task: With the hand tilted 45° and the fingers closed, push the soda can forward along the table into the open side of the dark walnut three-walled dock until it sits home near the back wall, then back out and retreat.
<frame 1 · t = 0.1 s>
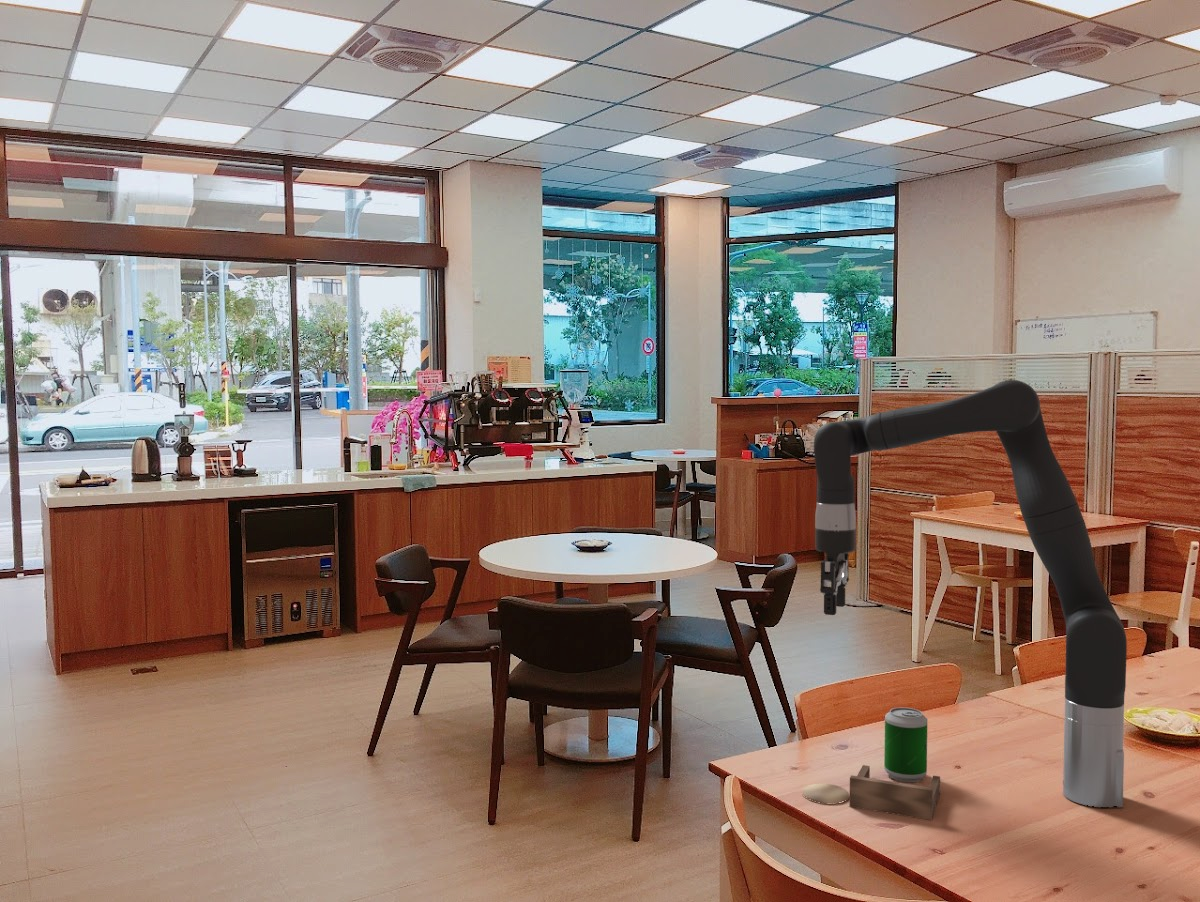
hand: (834, 610, 190), 29 cm above the table, tool pointing down, fingers open, 8 cm apart
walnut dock: (895, 799, 172), on the table
soda can: (905, 777, 183), on the table
beige domed disc: (825, 795, 174), on the table
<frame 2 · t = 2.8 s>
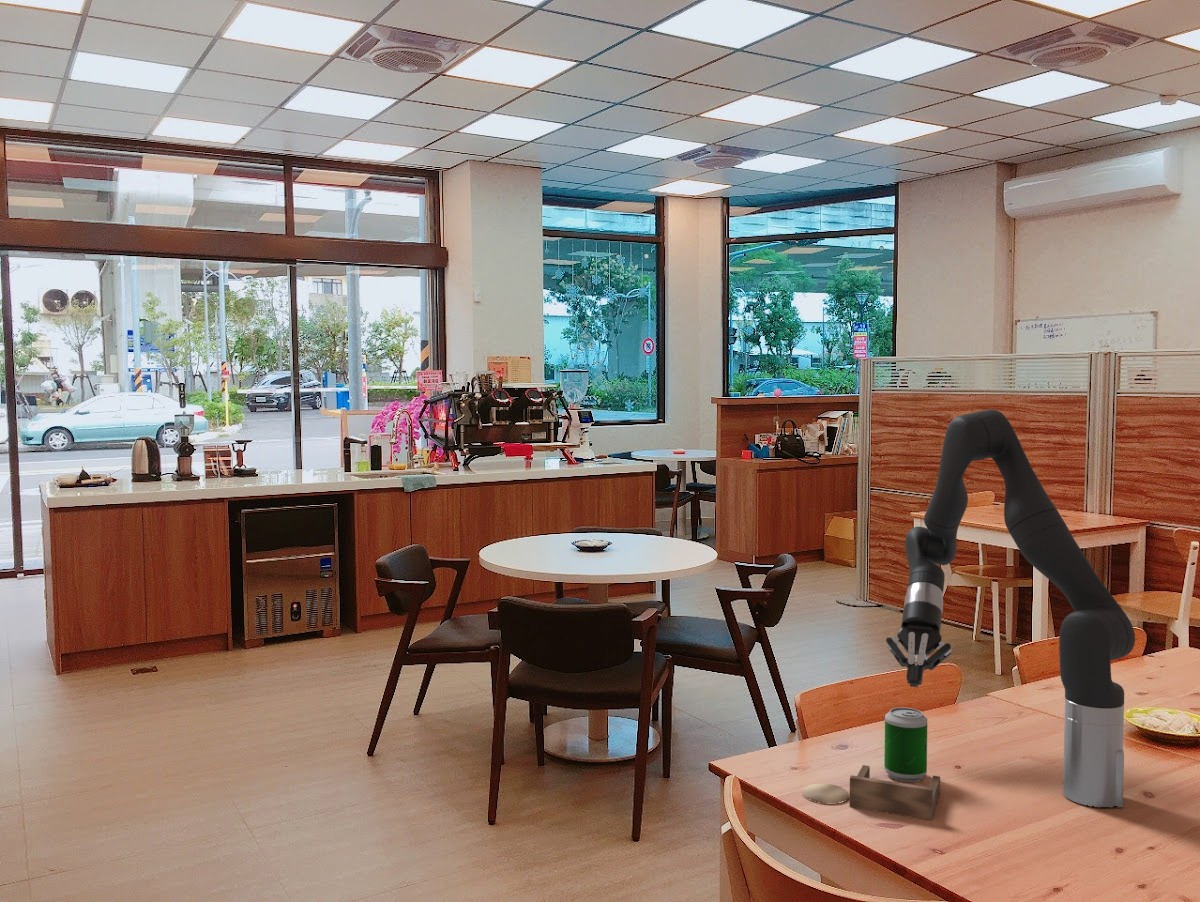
hand: (913, 684, 192), 14 cm above the table, tool tilted 45°, fingers closed
nothing on the table moved.
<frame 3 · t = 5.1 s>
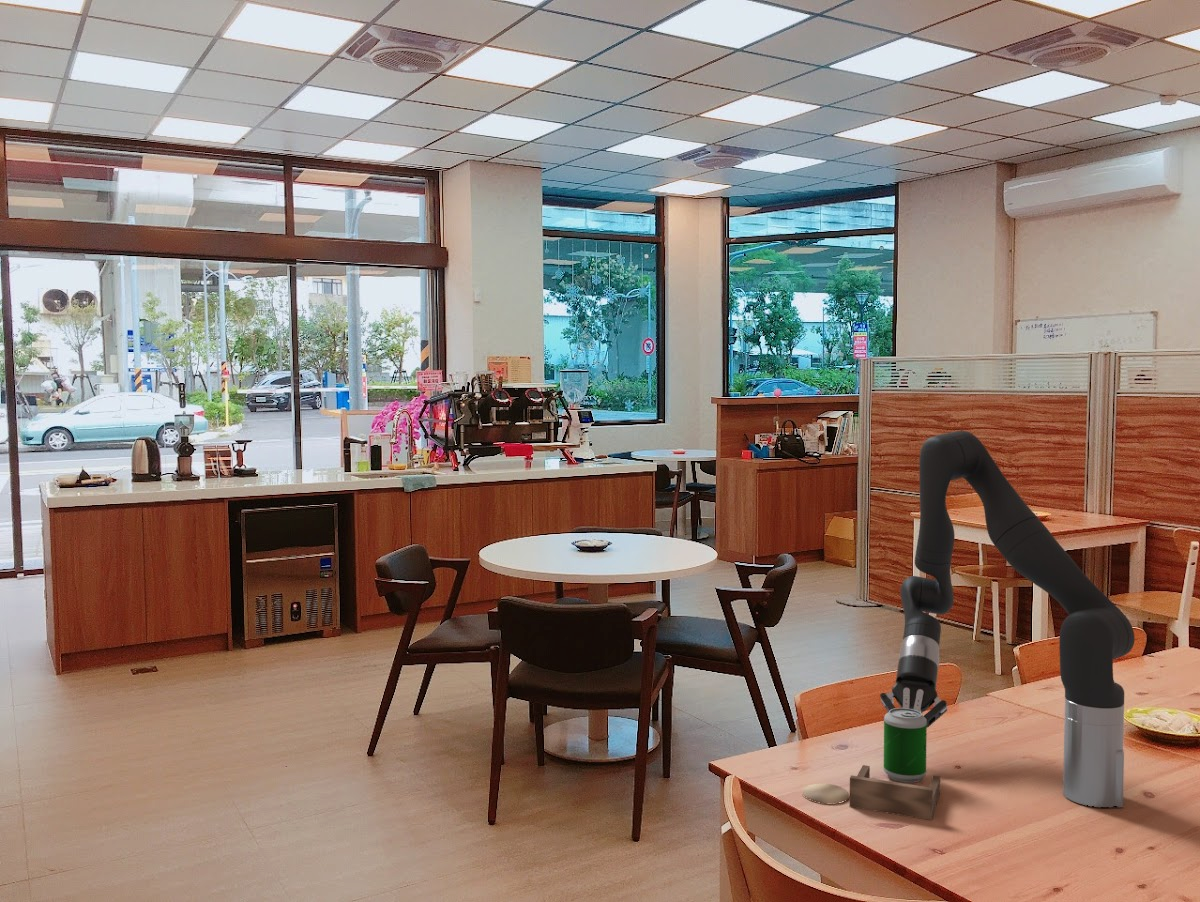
hand: (908, 744, 186), 5 cm above the table, tool tilted 45°, fingers closed
soda can: (904, 778, 183), on the table, touching gripper
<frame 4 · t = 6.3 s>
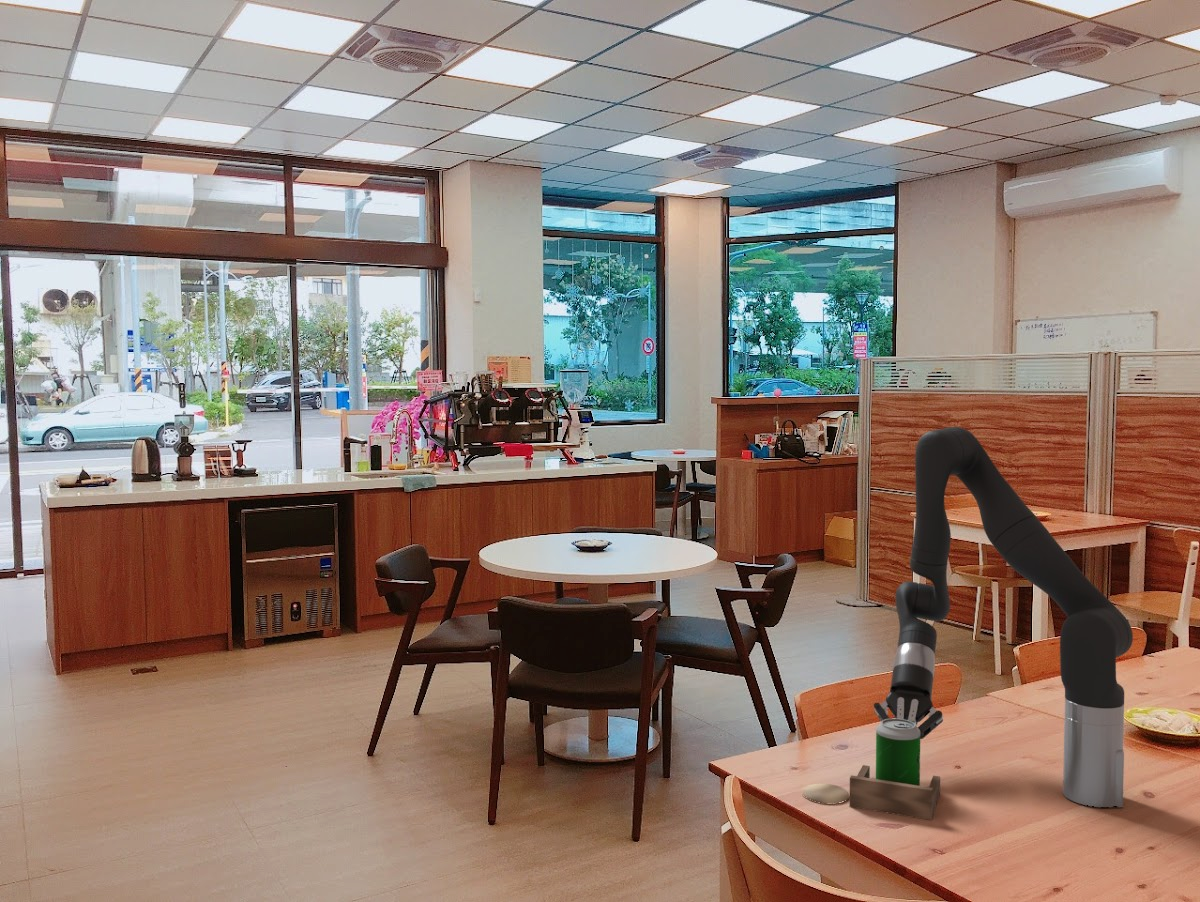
hand: (902, 755, 180), 5 cm above the table, tool tilted 45°, fingers closed
soda can: (897, 791, 177), on the table, touching gripper
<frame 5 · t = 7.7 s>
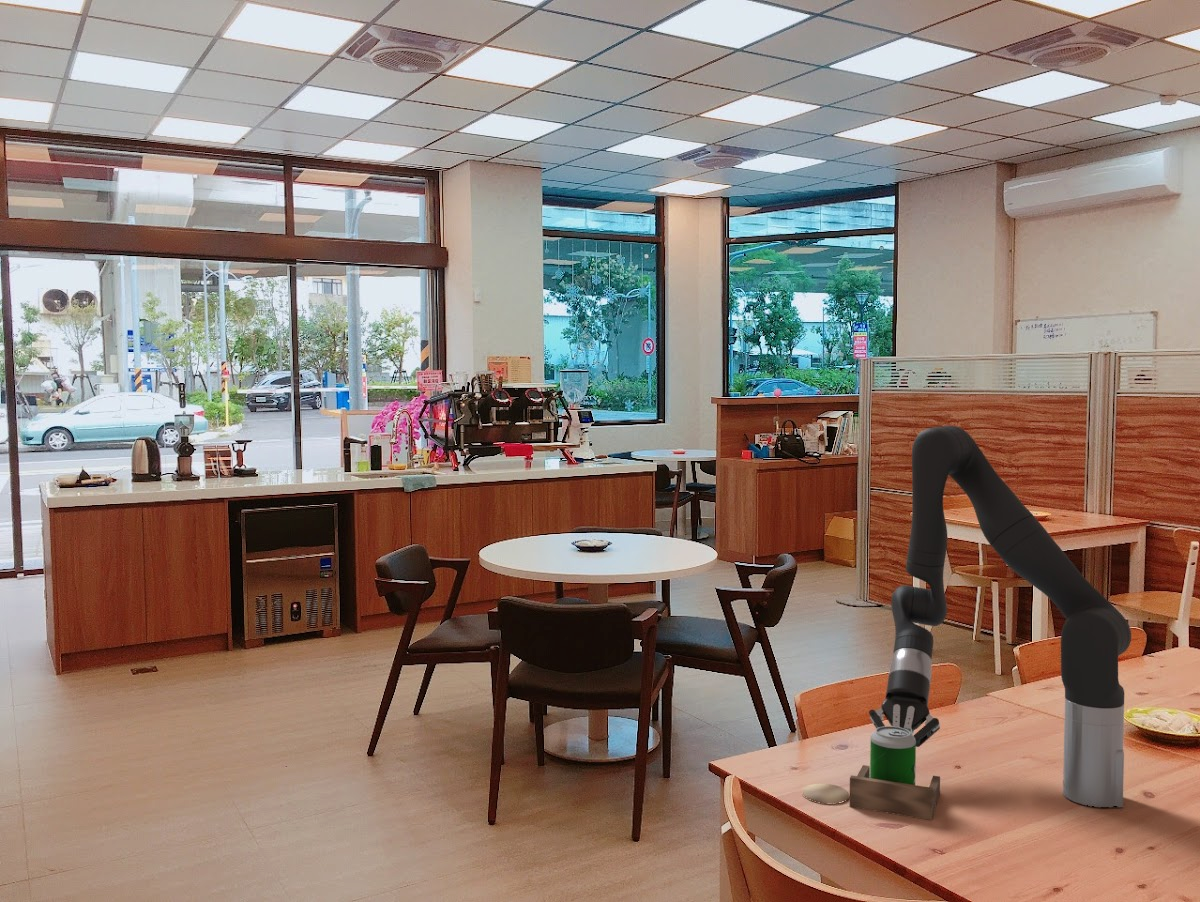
hand: (898, 764, 176), 5 cm above the table, tool tilted 45°, fingers closed
soda can: (892, 800, 172), on the table, touching gripper
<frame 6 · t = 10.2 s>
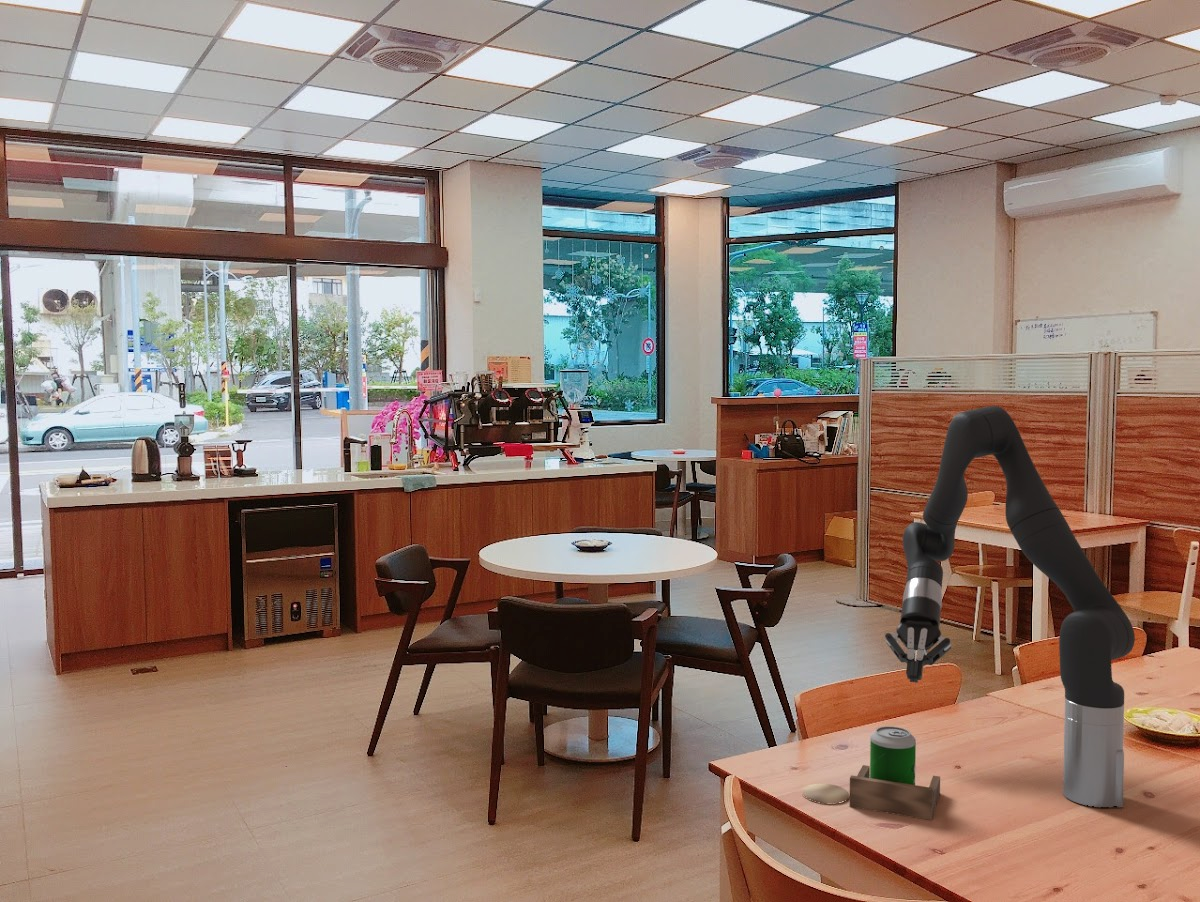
hand: (913, 680, 191), 16 cm above the table, tool tilted 45°, fingers closed
soda can: (892, 800, 172), on the table
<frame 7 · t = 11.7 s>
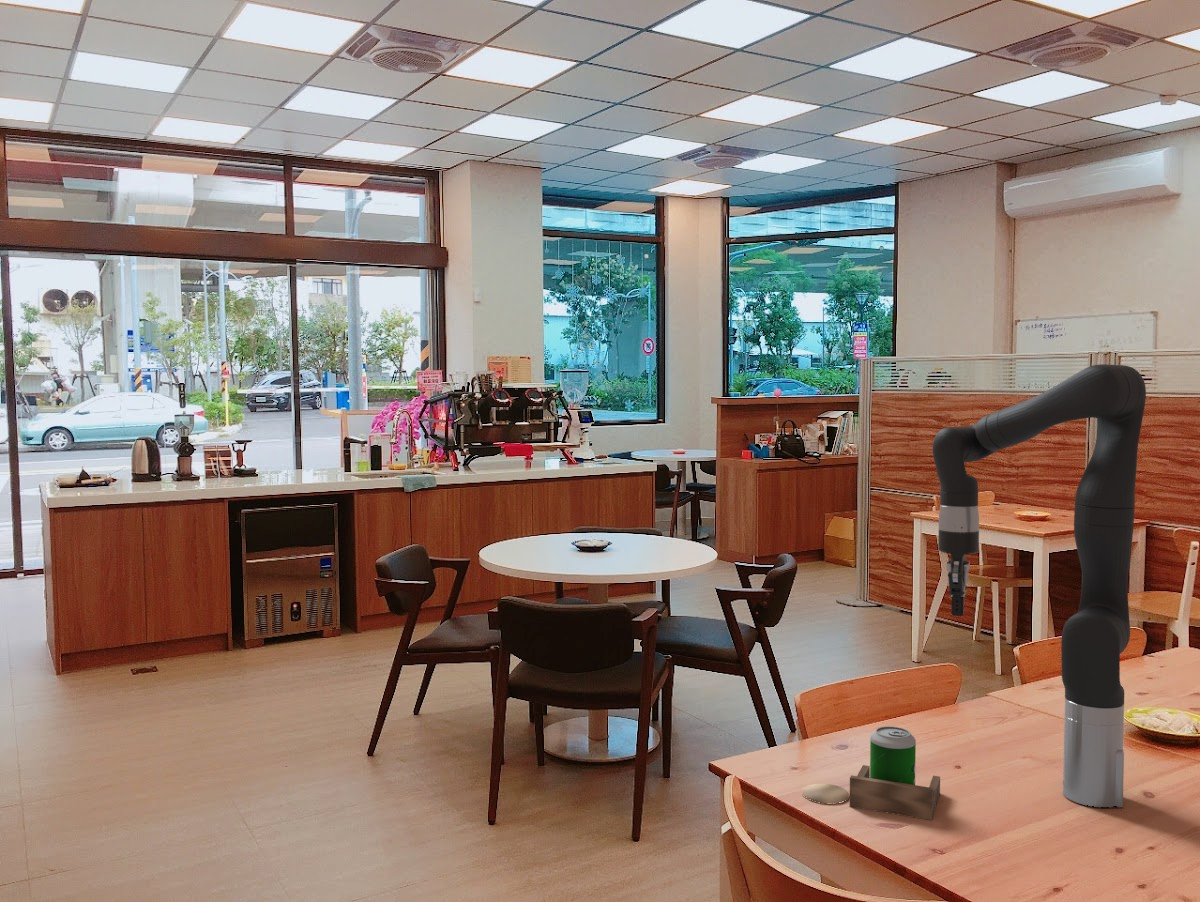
hand: (957, 615, 196), 27 cm above the table, tool pointing down, fingers closed
nothing on the table moved.
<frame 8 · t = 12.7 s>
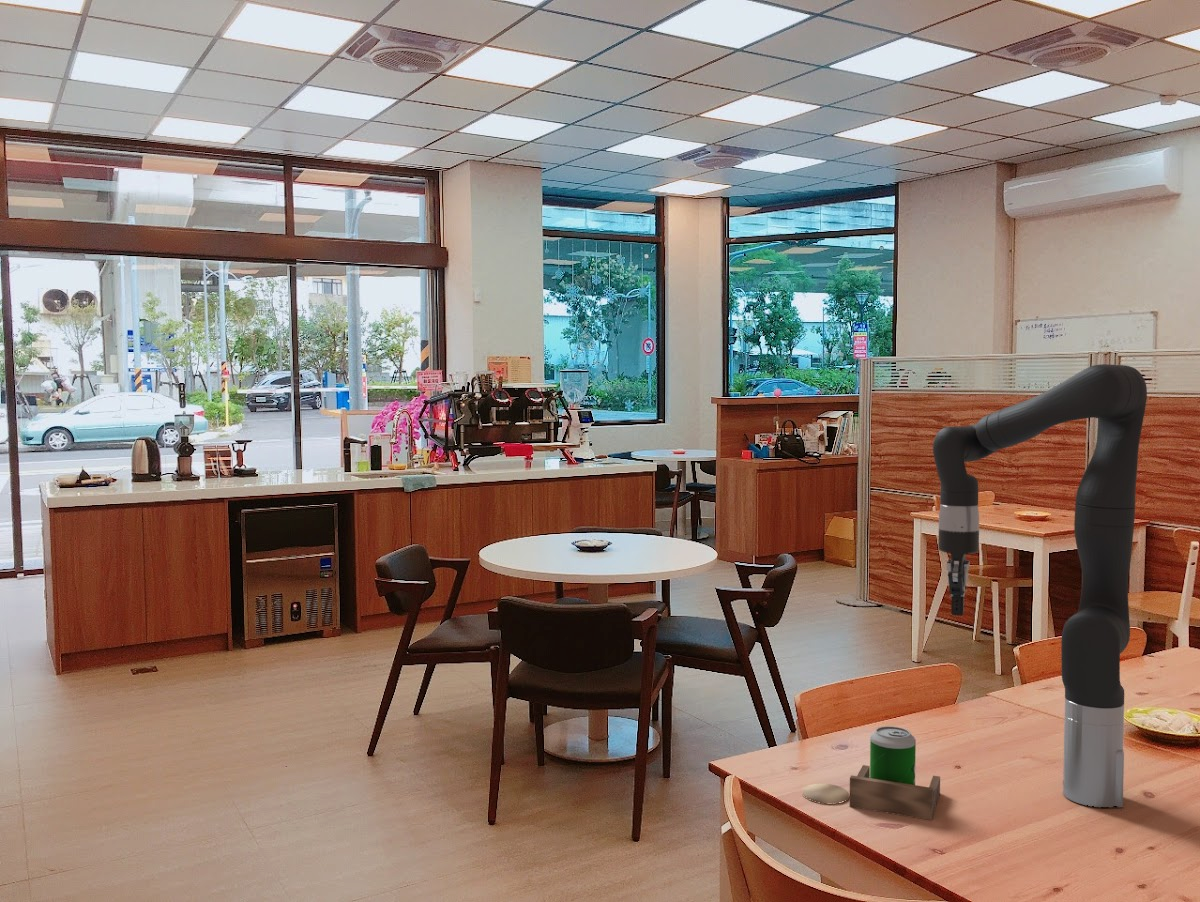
hand: (957, 614, 196), 27 cm above the table, tool pointing down, fingers closed
nothing on the table moved.
at the end: soda can inside the target area on the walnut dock (0.8 cm from its centre), point 0.0 cm above the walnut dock's base; soda can tilted 0° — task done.
